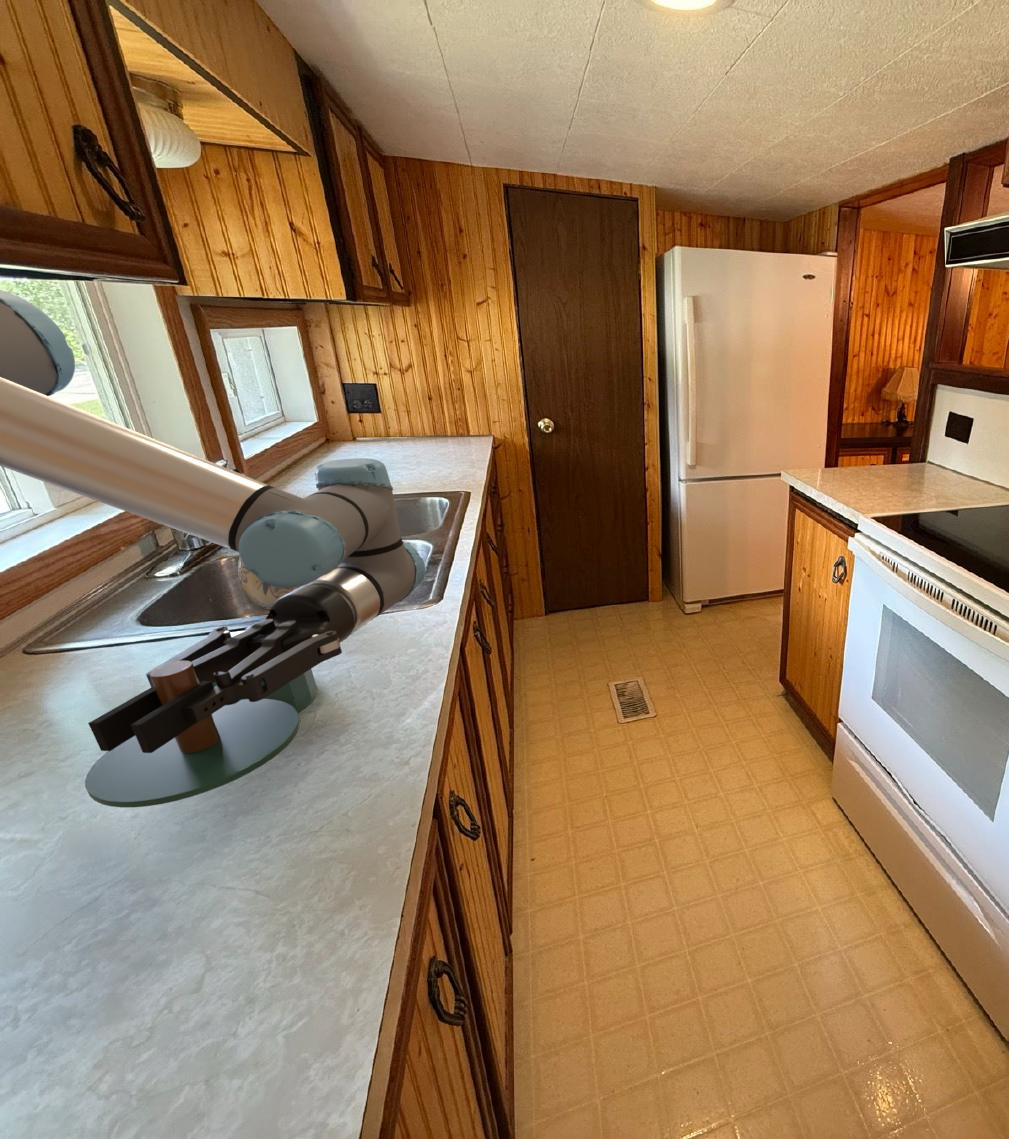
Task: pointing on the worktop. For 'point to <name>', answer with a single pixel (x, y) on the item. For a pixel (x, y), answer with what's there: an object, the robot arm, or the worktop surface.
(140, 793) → the lid
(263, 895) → the worktop surface
